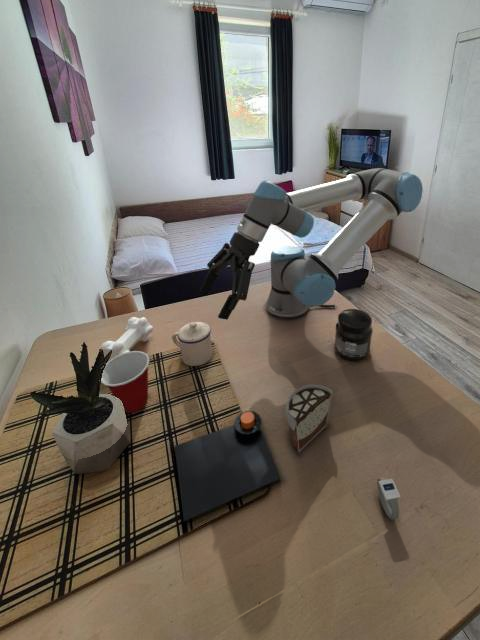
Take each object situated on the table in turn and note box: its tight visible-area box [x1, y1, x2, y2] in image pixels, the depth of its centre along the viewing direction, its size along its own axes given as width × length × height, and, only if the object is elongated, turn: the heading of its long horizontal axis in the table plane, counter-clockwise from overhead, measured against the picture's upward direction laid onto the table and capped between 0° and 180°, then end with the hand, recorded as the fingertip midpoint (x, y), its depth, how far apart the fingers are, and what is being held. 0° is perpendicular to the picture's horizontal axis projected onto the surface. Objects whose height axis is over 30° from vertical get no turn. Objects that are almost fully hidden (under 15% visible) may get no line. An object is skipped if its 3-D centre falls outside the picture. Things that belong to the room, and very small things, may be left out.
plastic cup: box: [100, 350, 150, 414], centre depth 77 cm, size 11×11×12 cm
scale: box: [174, 410, 282, 526], centre depth 66 cm, size 18×16×3 cm
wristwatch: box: [376, 476, 402, 520], centre depth 58 cm, size 6×3×5 cm, turn 9°
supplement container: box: [333, 308, 374, 362], centre depth 95 cm, size 10×10×12 cm
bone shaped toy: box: [100, 316, 154, 361], centre depth 95 cm, size 15×9×8 cm, turn 170°
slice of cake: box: [284, 384, 334, 453], centre depth 71 cm, size 12×6×10 cm, turn 134°
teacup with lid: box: [171, 321, 213, 367], centre depth 93 cm, size 12×9×12 cm
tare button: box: [241, 411, 255, 429], centre depth 71 cm, size 3×3×2 cm
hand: (212, 305), depth 89 cm, fingers open, 13 cm apart
